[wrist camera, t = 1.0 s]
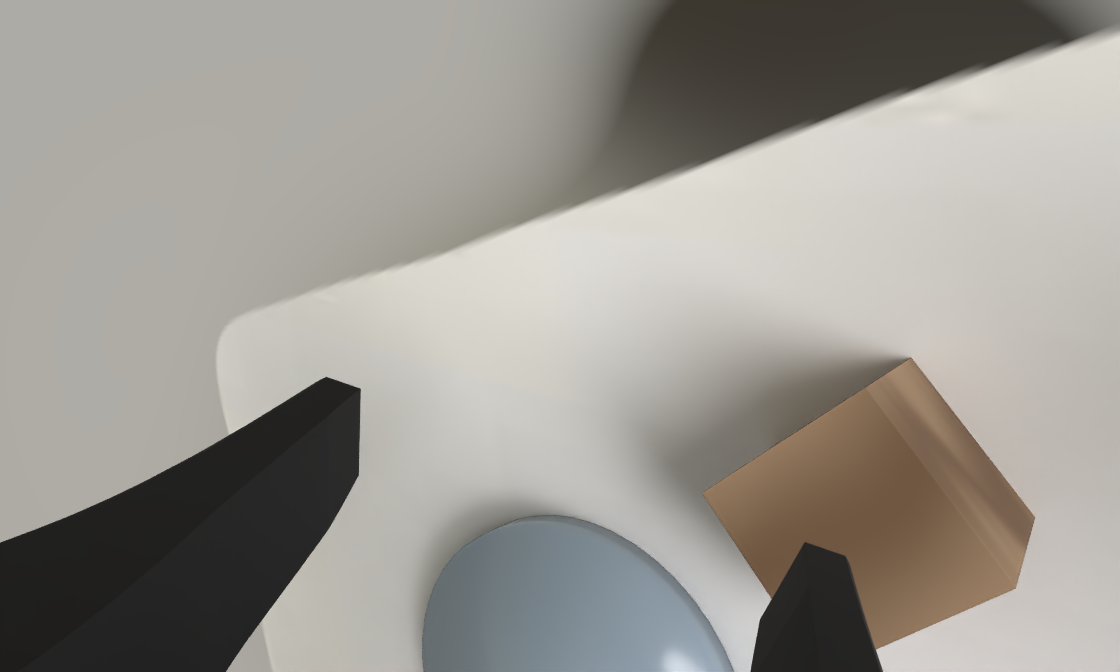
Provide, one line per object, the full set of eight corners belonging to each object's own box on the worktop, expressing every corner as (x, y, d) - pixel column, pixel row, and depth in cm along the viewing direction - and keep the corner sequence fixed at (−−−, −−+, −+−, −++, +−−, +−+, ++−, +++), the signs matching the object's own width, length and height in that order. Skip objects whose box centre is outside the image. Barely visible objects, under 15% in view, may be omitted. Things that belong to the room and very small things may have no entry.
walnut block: (1035, 516, 19) (1015, 588, 15) (872, 594, 21) (821, 673, 17) (911, 357, 20) (865, 387, 16) (770, 448, 22) (701, 493, 18)
